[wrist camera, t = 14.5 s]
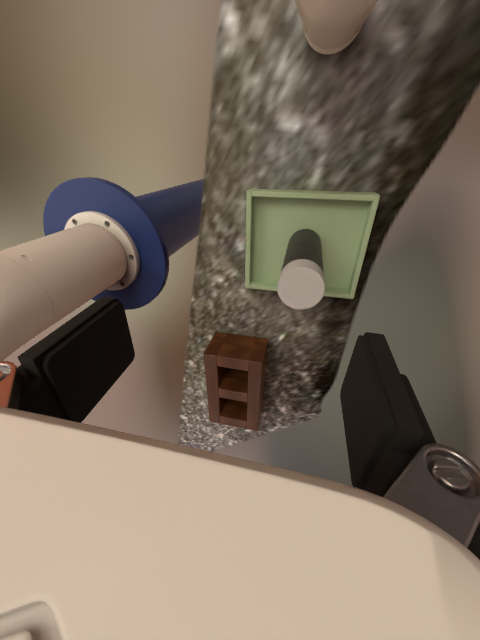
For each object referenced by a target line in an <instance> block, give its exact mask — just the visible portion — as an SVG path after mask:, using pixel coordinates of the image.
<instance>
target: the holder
mask: <svg viewBox="0 0 480 640" xmlns="http://www.w3.org/2000/svg"><path fill="white" fill-rule="evenodd" d="M267 345H268V339H263V338H256V337H250V336H242V335H235V334H228V333H220V332H216V333H215V335H214V336H213V338H212V340H211V342H210V344H209V346H208V348H207V350H206V351H205V353H204V360H205V371H206V383H207V395H208V406H209V418H210V421H211V422H216V423H221V424H226V425H231V426H235V427H240V428H245V429H251V430H255V431H258V428H259V423H260V417H261V412H262V407H263V399H264V385H265V372H266V359H267Z"/></svg>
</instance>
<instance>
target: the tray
mask: <svg viewBox="0 0 480 640" xmlns="http://www.w3.org/2000/svg"><path fill="white" fill-rule="evenodd" d="M379 199H380V195H379V194H377V193H369V192H339V191H309V190H279V189H249V190H247V201H246V261H245V288H251V289H260V290H270V291H277V285H278V281H279V277H280V273H281V269H282V266H283V262H284V258H285V254H286V250H287V247H288V243H289V240H290V238H291V236H292V235H293V234H294V233H295V232H296V231H298V230H301V229H310V230H313V231H315V232H316V233H317V234H318V235H319V237H320V240H321V247H322V259H323V270H324V281H325V292H324V295H323V296H328V297H337V298H347V299H348V298H349V299H353V298H354V295H355V291H356V287H357V283H358V279H359V275H360V272H361V268H362V264H363V260H364V256H365V252H366V249H367V245H368V241H369V237H370V233H371V229H372V226H373V222H374V218H375V214H376V210H377V206H378V203H379Z"/></svg>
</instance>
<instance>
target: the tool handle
mask: <svg viewBox="0 0 480 640" xmlns="http://www.w3.org/2000/svg"><path fill="white" fill-rule="evenodd" d="M277 292H278V295H279V297H280V299H281V300H282V302H283V303H284V304H286V305H287V306H289V307H291V308H294V309H308V308H311V307H313V306H315V305H316V304H317V303H318V302H319V301H320V300H321V299H322V297H323V295H324V292H325V281H324V270H323V259H322V247H321V240H320V237H319V235H318V234H317V233H316V232H315V231H313V230H310V229H301V230H298V231H296V232H295V233H294V234H293V235H292V236H291V238H290V240H289V243H288V247H287V250H286V254H285V258H284V262H283V266H282V269H281V273H280V277H279V281H278V285H277Z"/></svg>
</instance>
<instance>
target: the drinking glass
mask: <svg viewBox="0 0 480 640" xmlns="http://www.w3.org/2000/svg"><path fill="white" fill-rule="evenodd" d="M377 1H378V0H295V3H296V6H297V9H298V11H299V14H300V17H301V21H302V25H303V31H304V35H305V38H306V40H307V42H308V44H309V45H310V46H311V47H312V49H314V50H315V51H316V52H318V53H320V54H325V55H330V54H335V53H338V52H340V51H341V50H343V49H344V48H346V47H347V46H348V45H349V44H350V43H351V42H352V41H353V40H354V39H355V37H356V36H357V35H358V33H359V31H360V29H361V28H362V26H363V23H364V21H365V20H366V18H367V16H368V15H369V13H370V12H371V10H372V9H373V7H374V6H375V4H376V3H377Z"/></svg>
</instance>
